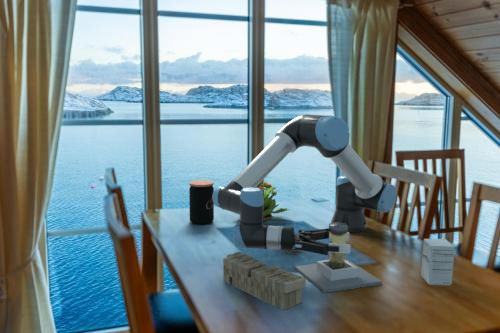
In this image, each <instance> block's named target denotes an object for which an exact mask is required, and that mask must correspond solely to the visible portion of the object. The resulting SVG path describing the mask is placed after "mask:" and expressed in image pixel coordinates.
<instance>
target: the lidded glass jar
mask: <svg viewBox="0 0 500 333" xmlns="http://www.w3.org/2000/svg"><path fill="white" fill-rule="evenodd" d="M328 228H329V232H330V240H329V243H338V244H347V241H346V233H347V229H348V225H347V224H345V223H340V222H333V223H331V222H330V223H328ZM328 260H329V267H330V268H331V269H333V270H334V269H342V268H345V260H346V253H333V252H328Z"/></svg>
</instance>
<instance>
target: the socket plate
mask: <svg viewBox="0 0 500 333" xmlns="http://www.w3.org/2000/svg"><path fill="white" fill-rule="evenodd" d="M294 270H295V271H296V272H297V273H299V274H300V276H302V277H304V278H306V281H309V282H310V283H311V284H312V285H313V286H314V287H316V288H317V289H318V290H320V292H322V293H323V294H327V293H333V292H339V291H348V290H353V289H360V287H361V288H366V287H367V286H368V287H373V286H380V285H382V284H383V280H381V279H379V278H378V277H376V276H374V275H372V274H371V273H369V271H366V269H363V268H361V267H360V266H358V265H357V264H355V263H353V262H352V261H351V260H348V259H345V268H342V269H334V270H333V269H331V268H330V267H329V259H325V260H318V261H316V263H311V264H303V265H295V266H294Z"/></svg>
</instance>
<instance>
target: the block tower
mask: <svg viewBox="0 0 500 333" xmlns="http://www.w3.org/2000/svg"><path fill="white" fill-rule="evenodd" d="M222 260H223V262H222V263H223V267H222V268H223V270H222V271H223V275H222V276H223V282H224V283H227V284H232V287H235V288H236V289H239V290H240V291H243V292H245V293H247V295H248V294H249V295H251V296H252V297H255V298H257V299H259V300H261V301H262V302H265V303H267V304H269V305H270V306H273V307H276V308H278V309H280V310H282V311H285V310H286V309H289V308H292V307H294V306H296V305H299V304H302V303H303V289H304V288H306V287H307V279H306V278H305V277H304V276H302V275H298V274H295V273H291V272H289V271H287V270H285V269H283V268H280V267H277V266H275V265H272V266H270V267H267V262H265V261H262V260H259V259H257V258H254V257H253V256H250V255H247V254H245V253H242V252H240V251H237V252H233V253H230V254H227V255H226V257H223V259H222Z"/></svg>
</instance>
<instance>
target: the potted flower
mask: <svg viewBox="0 0 500 333" xmlns="http://www.w3.org/2000/svg"><path fill="white" fill-rule="evenodd" d="M255 188H259V189H261V190H262V191H263V200H264V208H263V221H268V220H270V219H272V217H273V214H279V213H283V212H287V211H289V210H291V209H290V208H289V209H288V208H286V207H281V208H279V209H276V208H277V207H278V206H279V205H280V203H279V204H278V203H277V202H276V199H275V198H273V197H274V196H276V197H277V194H278V192H279V190H280V189H277V191H274V190H276V188H277V187H276V186H273V185H272V184H271V183H268V182H266V181H264V182H263V183H262V181H261V182H260V183H259V184H258V185H257V186H256V187H255ZM270 194H271V195H270ZM275 209H276V210H275Z"/></svg>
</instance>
